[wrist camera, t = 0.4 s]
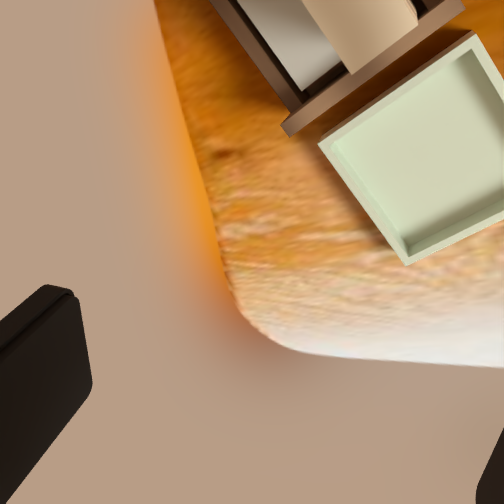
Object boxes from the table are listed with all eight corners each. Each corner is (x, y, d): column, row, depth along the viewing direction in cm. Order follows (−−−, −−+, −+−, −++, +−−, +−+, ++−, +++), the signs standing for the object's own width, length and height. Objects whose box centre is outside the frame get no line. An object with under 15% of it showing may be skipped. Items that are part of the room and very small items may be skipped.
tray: (471, 30, 31) (476, 33, 29) (558, 175, 34) (567, 188, 32) (322, 135, 37) (317, 144, 35) (405, 252, 40) (405, 266, 38)
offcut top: (278, -72, 29) (270, -75, 28) (356, 46, 31) (353, 50, 29) (230, -23, 31) (220, -23, 30) (307, 85, 33) (301, 91, 31)
